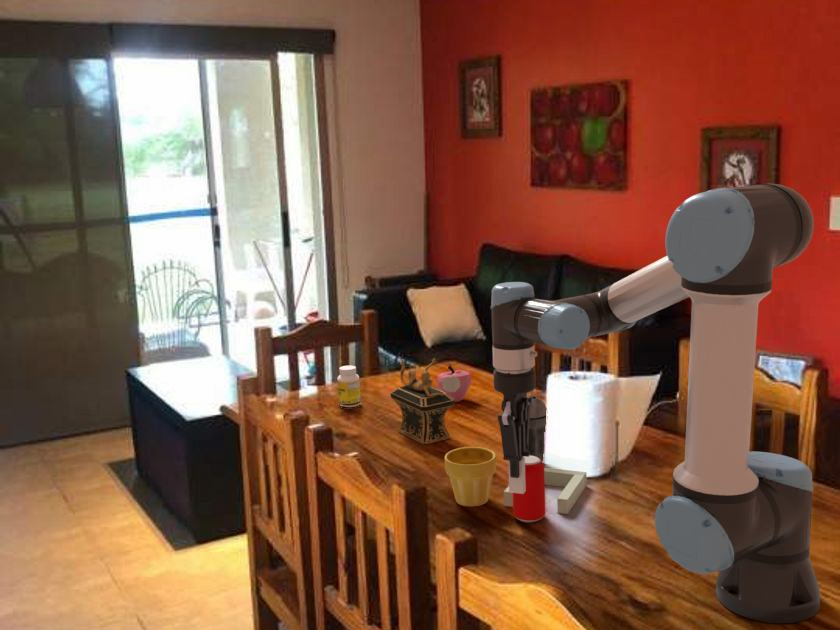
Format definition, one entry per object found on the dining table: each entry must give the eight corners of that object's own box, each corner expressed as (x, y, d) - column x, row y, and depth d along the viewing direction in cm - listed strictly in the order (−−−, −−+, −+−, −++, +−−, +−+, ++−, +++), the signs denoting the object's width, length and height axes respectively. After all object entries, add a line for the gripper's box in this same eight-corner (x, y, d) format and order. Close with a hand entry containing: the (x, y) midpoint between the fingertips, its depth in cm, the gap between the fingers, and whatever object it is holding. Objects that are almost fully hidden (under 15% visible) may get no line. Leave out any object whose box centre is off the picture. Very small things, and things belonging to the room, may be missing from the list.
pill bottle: (335, 404, 254) (333, 366, 251) (356, 401, 256) (353, 363, 254) (343, 410, 248) (340, 371, 246) (364, 406, 251) (361, 368, 248)
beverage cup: (511, 466, 200) (509, 380, 196) (523, 456, 206) (521, 372, 203) (542, 471, 197) (540, 383, 193) (553, 460, 203) (552, 374, 199)
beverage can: (524, 509, 178) (522, 451, 175) (551, 516, 174) (550, 457, 171) (507, 520, 173) (505, 461, 171) (534, 527, 169) (533, 467, 167)
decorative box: (458, 439, 220) (455, 361, 216) (425, 448, 215) (421, 368, 211) (416, 419, 237) (413, 347, 233) (384, 427, 232) (380, 353, 228)
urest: (567, 514, 174) (567, 499, 174) (504, 505, 180) (503, 491, 179) (586, 485, 188) (586, 472, 187) (526, 478, 193) (526, 465, 192)
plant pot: (455, 514, 177) (453, 467, 175) (440, 495, 187) (438, 450, 185) (504, 506, 179) (503, 460, 178) (487, 487, 189) (485, 443, 187)
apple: (434, 404, 249) (432, 369, 247) (442, 395, 257) (441, 362, 255) (468, 406, 246) (466, 371, 244) (475, 397, 254) (474, 363, 252)
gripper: (523, 379, 154) (526, 507, 159) (544, 360, 166) (546, 480, 171) (482, 376, 157) (486, 502, 162) (505, 358, 169) (509, 476, 174)
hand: (517, 491), depth 166 cm, fingers closed
